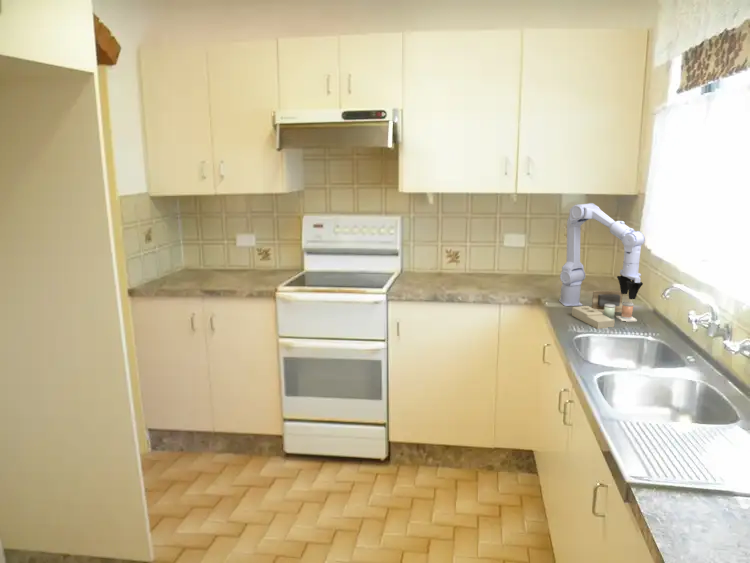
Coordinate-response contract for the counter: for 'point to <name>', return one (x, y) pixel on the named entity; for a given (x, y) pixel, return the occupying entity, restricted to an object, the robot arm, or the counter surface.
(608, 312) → the cylinder
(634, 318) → the pad
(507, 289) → the counter surface
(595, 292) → the junction unit
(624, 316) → the cylinder
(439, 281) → the counter surface
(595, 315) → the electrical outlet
